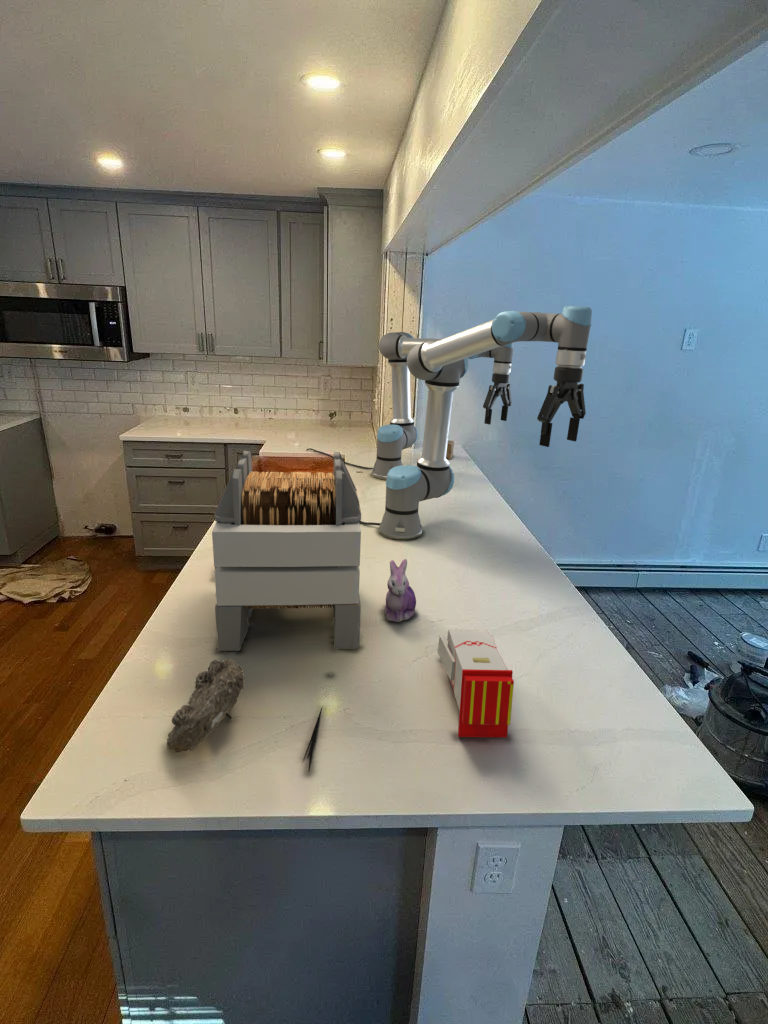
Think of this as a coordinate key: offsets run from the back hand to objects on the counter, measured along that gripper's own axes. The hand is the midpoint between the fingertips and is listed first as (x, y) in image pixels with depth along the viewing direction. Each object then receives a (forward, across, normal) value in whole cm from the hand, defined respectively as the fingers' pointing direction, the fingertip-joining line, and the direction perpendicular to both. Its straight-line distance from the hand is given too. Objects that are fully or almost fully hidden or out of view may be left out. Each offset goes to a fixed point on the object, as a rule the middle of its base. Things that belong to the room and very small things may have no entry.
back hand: (495, 422), depth 251 cm
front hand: (-12, -68, -60) cm, 92 cm away
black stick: (+29, -160, -62) cm, 174 cm away
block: (+30, +27, +44) cm, 60 cm away
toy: (+29, -133, -78) cm, 156 cm away
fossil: (+29, -174, -46) cm, 183 cm away
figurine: (+29, -119, -47) cm, 131 cm away
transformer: (+29, -139, -28) cm, 144 cm away
